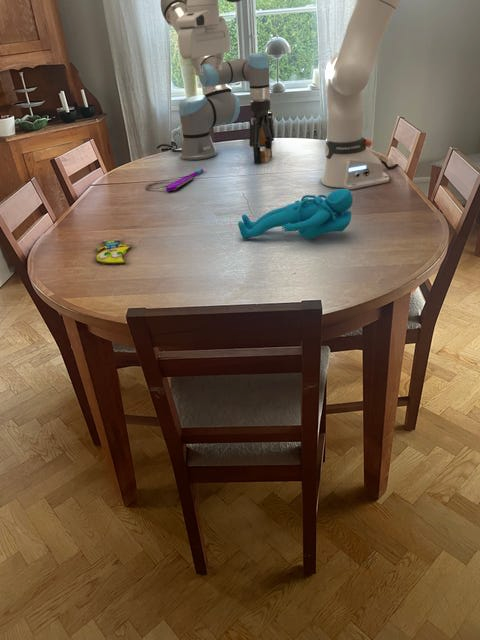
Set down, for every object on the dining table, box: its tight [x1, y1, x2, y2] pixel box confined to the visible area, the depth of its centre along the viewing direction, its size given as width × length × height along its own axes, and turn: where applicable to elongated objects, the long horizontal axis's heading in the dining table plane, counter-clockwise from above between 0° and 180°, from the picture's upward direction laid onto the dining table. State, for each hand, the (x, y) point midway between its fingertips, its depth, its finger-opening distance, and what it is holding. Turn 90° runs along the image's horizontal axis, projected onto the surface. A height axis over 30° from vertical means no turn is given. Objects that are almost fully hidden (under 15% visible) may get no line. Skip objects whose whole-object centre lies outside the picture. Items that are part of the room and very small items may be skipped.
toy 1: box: [95, 238, 133, 265], centre depth 129 cm, size 10×1×15 cm
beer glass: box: [259, 114, 275, 146], centre depth 215 cm, size 10×10×12 cm
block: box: [260, 147, 272, 164], centre depth 194 cm, size 4×5×4 cm
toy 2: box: [237, 188, 354, 240], centre depth 126 cm, size 17×11×30 cm
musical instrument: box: [145, 168, 205, 192], centre depth 179 cm, size 24×2×20 cm
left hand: (263, 160), depth 195 cm, fingers open, 8 cm apart
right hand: (209, 73), depth 142 cm, fingers open, 8 cm apart
